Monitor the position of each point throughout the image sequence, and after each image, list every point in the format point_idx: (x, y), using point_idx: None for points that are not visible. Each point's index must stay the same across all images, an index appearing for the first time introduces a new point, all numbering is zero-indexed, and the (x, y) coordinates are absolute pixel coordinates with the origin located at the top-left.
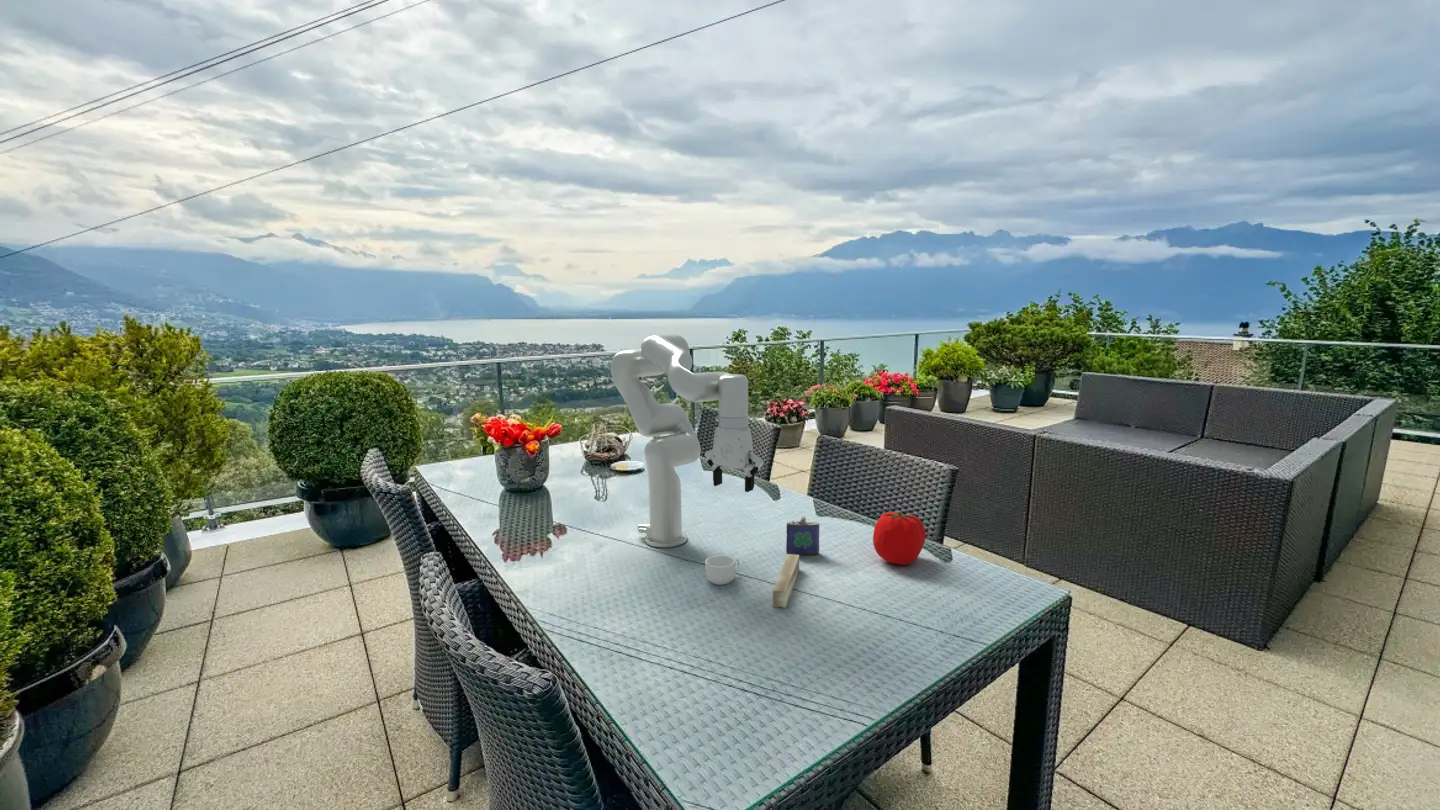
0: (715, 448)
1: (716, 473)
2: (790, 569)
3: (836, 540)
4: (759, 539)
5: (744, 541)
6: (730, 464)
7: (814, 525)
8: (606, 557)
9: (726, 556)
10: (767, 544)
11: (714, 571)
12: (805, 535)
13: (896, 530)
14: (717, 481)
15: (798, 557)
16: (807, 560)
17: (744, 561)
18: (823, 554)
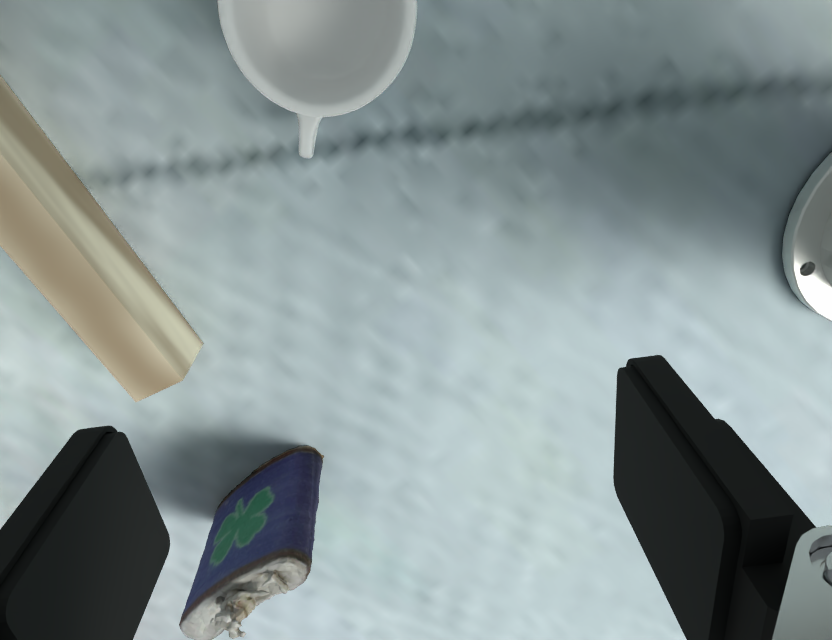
0: None
1: (706, 510)
2: (17, 241)
3: (263, 632)
4: (502, 486)
5: (542, 436)
6: None
7: (187, 612)
8: None
9: (344, 100)
10: (441, 469)
11: None
12: (227, 547)
13: None
14: (638, 429)
15: (119, 381)
16: (205, 449)
17: (400, 278)
18: (204, 523)
